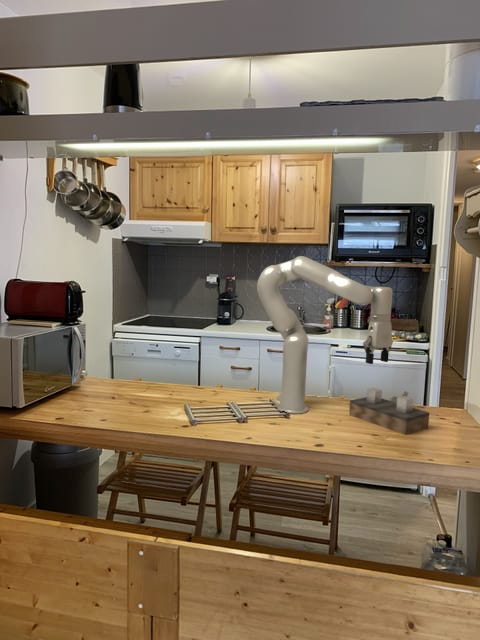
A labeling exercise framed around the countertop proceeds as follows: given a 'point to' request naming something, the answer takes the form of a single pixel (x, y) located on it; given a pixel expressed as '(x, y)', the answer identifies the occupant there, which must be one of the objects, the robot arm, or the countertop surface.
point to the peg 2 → (404, 404)
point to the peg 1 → (374, 395)
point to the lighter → (394, 399)
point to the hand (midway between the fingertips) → (376, 362)
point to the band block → (389, 416)
